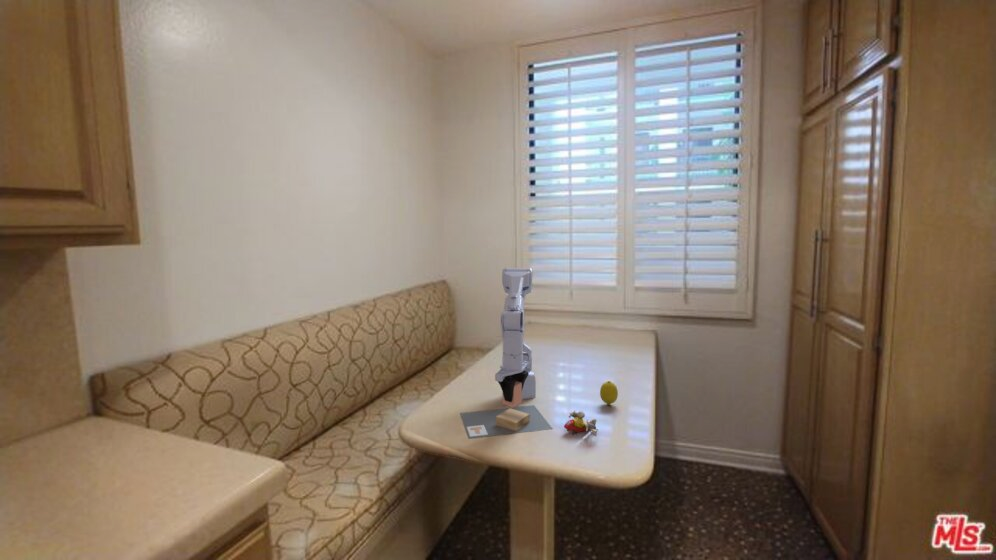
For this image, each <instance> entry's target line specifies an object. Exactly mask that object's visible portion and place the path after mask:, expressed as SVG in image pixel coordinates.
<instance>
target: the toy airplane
mask: <svg viewBox="0 0 996 560" xmlns="http://www.w3.org/2000/svg"><path fill="white" fill-rule="evenodd" d="M585 416H586V413H585V412H584V411H582V410H580V411H578V412H576V410H573V411H571V412H569V415H568V418H569V420H568V421H566V423H565V424H564V425H563V426H564V429H566V431H567V432H569V433H571V434H572V436H575V435H577V433H579V432H583V431H586V432H588V431H590V432H592V433H594V434H597V433H598V431H599V429H598V427H597V426H596V424H597V419H596V418H592V419H591V420H590V421H588V420H589V419H586V420H584V418H585ZM571 417H572V419H570V418H571Z"/></svg>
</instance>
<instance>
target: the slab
mask: <svg viewBox="0 0 996 560" xmlns="http://www.w3.org/2000/svg"><path fill="white" fill-rule="evenodd" d="M509 408H510V409H508V410H506V411H505V412H503V413H501V414H500V415H498V416H496V425H499V426H502V427H505V428H508V429H511V430H514V431H517V430H519V429H520V428H522V427H523V426H525V425H526V424H528V423H529V422H530V414H528V413H524V412H521V411H517V410H514V409H511V408H512V407H509Z"/></svg>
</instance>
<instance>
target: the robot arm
mask: <svg viewBox="0 0 996 560" xmlns="http://www.w3.org/2000/svg"><path fill="white" fill-rule="evenodd" d="M501 271H502V272H501V275H502V276H501V281H502V287H503V291H504V293H505V294H508V295H507V296H506V297H505V299H504V304H503V305H504V306H503V312H501V314H500V331H501V338H502V360H501V362H502V363H501V365H499V370H498V371H497V372H496V373H494V381H496V382H497V383H498V384H499V386H500V388H501V390H502V391H503V393H502V396H503V395H504V399H505V401H508V402H512V399H513V390H514V385H515V383H516V381H517V382H521V383H522V400H525V399H532V398H533V399H536V393H537V391H536V386H537V385H536V381H537V379H536V376H535V373H534V371H533V353H532V348H531V347H530V346H529V345H527V344H526V343H525V339H524V338H525V299H526V297H527V295H528V294H530V293H532V290H533V269H532V267H504V268H503V269H502V270H501Z"/></svg>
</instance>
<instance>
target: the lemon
mask: <svg viewBox="0 0 996 560" xmlns="http://www.w3.org/2000/svg"><path fill="white" fill-rule="evenodd" d="M618 394H619V390H618V388H617V385H616V384H615V383H614V382H612V381H610V380H607V381H605V382H604V383H602V384H601V386H600V390H599V395H600V398H601V400H602V402H603V403H605V404H607V406H610V405H611V404H614V403H615V402H616V401H617V400H618V397H619V395H618Z"/></svg>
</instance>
